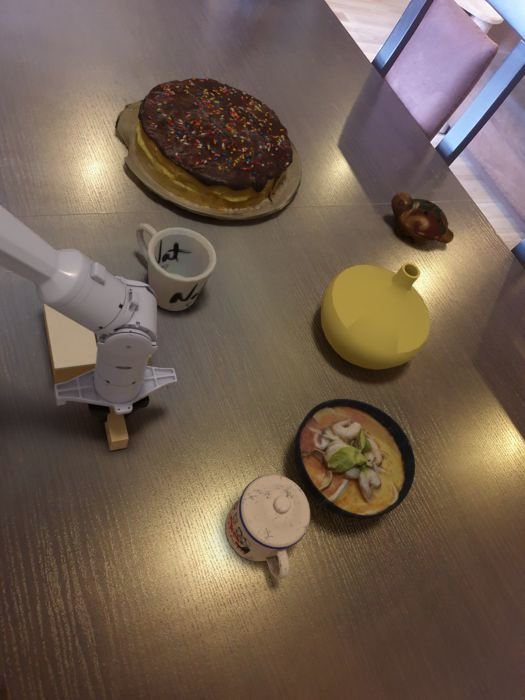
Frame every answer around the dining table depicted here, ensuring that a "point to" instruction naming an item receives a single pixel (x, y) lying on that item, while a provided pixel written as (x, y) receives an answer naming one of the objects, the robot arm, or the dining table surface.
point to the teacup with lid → (268, 521)
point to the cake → (210, 150)
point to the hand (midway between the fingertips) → (112, 414)
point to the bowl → (353, 459)
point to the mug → (176, 264)
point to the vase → (375, 316)
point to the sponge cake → (69, 346)
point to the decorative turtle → (420, 220)
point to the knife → (115, 427)
